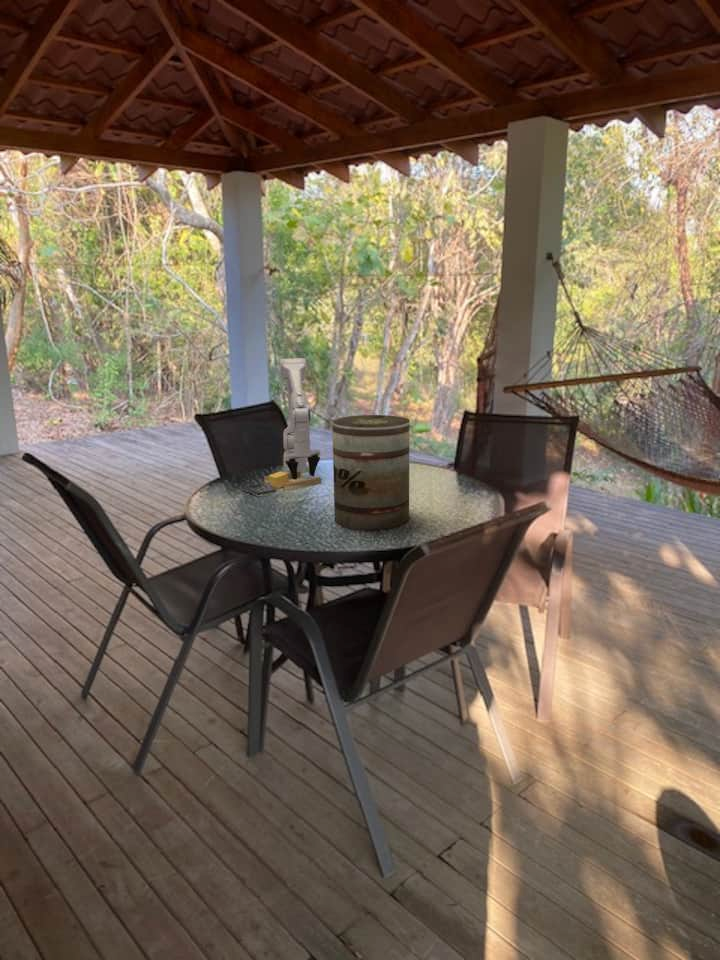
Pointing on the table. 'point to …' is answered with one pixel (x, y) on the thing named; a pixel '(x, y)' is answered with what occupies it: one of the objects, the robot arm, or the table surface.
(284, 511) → the table surface
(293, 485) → the channel
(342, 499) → the barrel
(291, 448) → the robot arm
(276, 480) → the block
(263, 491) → the pit tray
